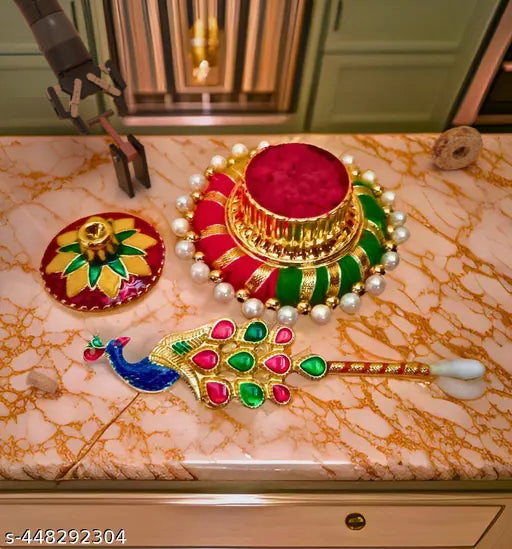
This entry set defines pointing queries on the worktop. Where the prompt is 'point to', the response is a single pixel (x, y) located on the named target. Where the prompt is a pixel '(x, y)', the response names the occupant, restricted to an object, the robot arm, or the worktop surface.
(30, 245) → the worktop surface
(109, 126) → the latch lever
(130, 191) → the latch bracket
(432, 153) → the stone disc
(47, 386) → the beige block
